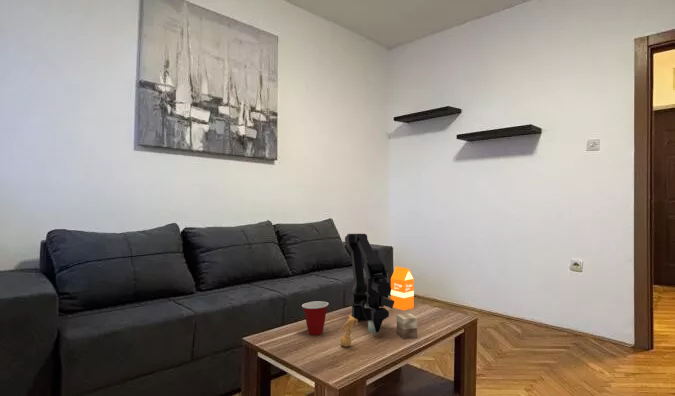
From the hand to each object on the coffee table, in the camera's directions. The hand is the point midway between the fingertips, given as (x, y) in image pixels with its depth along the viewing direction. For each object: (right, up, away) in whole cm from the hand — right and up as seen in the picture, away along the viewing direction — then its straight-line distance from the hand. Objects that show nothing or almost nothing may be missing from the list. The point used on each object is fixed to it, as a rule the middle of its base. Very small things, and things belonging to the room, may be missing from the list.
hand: (373, 328), depth 158 cm
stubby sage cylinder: (0, -1, 0) cm, 1 cm away
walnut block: (+13, -1, -5) cm, 14 cm away
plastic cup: (-24, -1, -3) cm, 24 cm away
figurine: (-11, -1, -17) cm, 21 cm away
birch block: (+13, +3, -5) cm, 14 cm away
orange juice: (+18, -2, +36) cm, 40 cm away
